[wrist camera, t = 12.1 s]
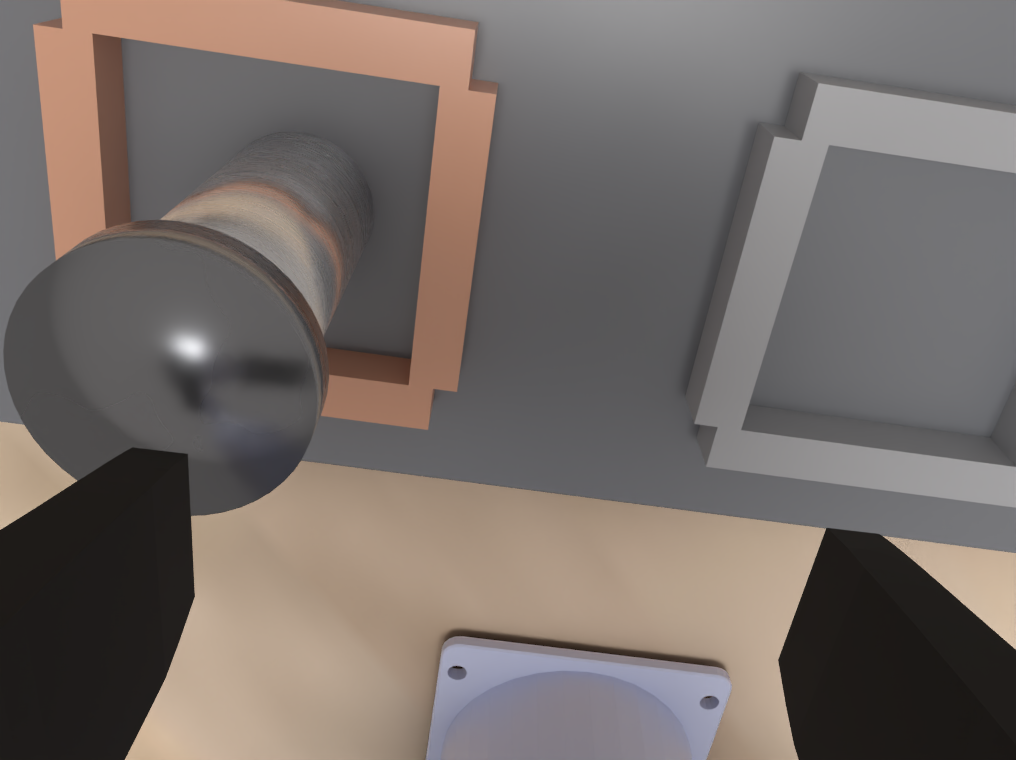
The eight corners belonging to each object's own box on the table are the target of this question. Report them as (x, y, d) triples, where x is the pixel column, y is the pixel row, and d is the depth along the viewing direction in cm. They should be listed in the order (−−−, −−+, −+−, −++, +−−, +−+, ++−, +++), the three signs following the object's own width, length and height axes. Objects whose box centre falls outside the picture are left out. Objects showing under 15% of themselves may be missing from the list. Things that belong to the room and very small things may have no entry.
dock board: (1059, 535, 23) (1109, 594, 21) (10, 398, 21) (-42, 447, 19) (1327, 34, 17) (1431, 50, 15) (-68, -193, 16) (-152, -207, 14)
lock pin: (386, 306, 19) (311, 531, 12) (204, 283, 19) (21, 498, 12) (401, 124, 17) (323, 264, 10) (201, 96, 17) (-16, 220, 10)
